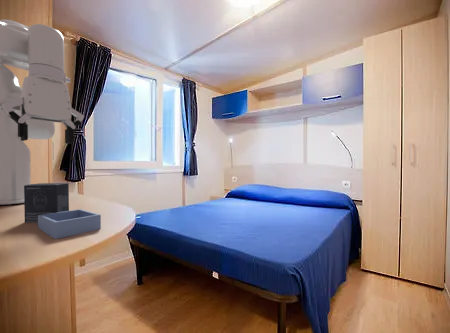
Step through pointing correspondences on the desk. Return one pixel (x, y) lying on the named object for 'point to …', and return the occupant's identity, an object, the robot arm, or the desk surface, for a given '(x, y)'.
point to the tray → (69, 223)
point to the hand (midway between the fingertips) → (47, 142)
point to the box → (45, 199)
